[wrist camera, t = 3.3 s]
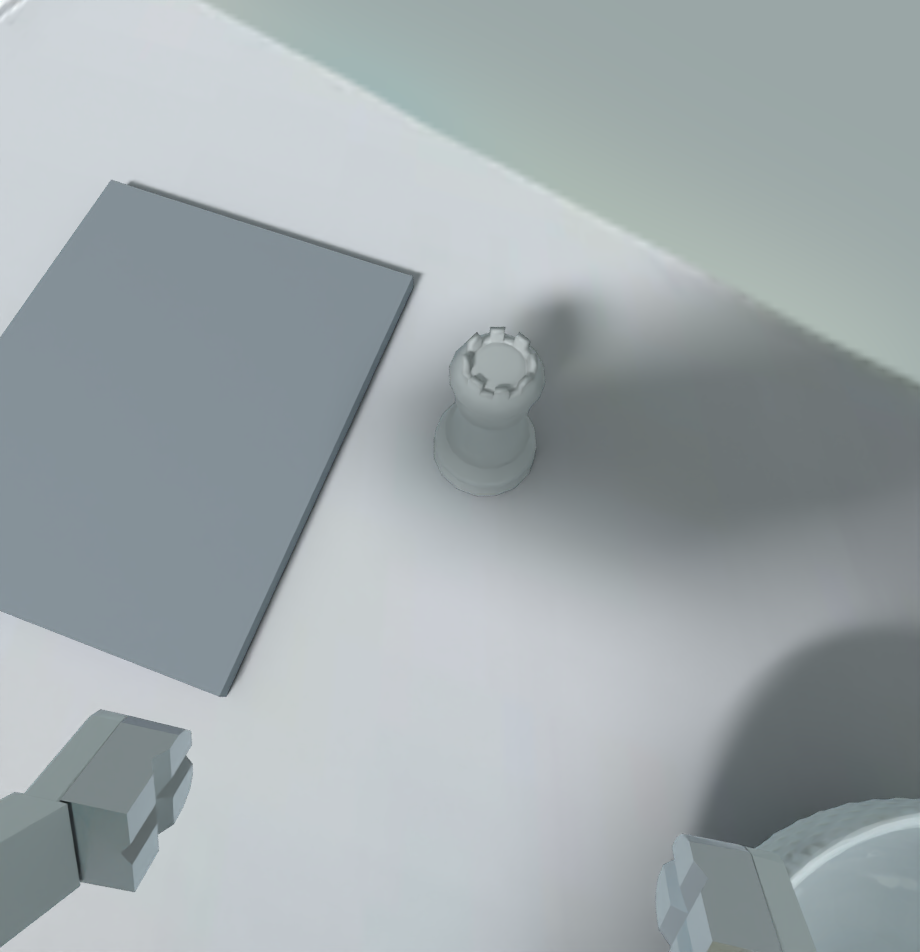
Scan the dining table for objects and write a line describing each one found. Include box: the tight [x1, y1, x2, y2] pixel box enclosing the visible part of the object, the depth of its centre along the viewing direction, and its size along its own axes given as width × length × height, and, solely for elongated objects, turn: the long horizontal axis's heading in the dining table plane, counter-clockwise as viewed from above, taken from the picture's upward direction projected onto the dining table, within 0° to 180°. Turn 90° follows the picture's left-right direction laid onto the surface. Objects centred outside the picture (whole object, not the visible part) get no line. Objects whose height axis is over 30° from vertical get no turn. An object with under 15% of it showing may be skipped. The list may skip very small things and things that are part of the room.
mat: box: [0, 180, 414, 697], centre depth 28 cm, size 20×16×1 cm
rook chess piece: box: [434, 327, 545, 496], centre depth 24 cm, size 4×4×8 cm
